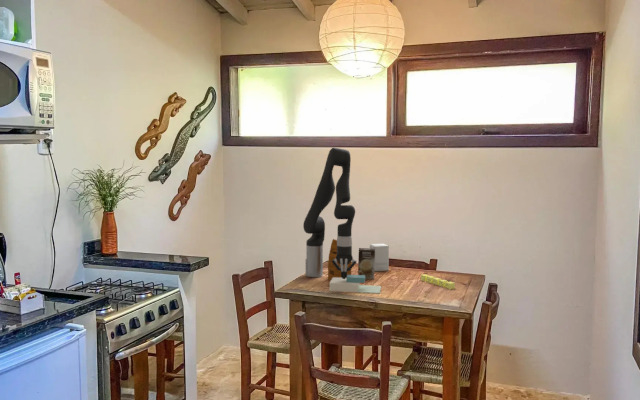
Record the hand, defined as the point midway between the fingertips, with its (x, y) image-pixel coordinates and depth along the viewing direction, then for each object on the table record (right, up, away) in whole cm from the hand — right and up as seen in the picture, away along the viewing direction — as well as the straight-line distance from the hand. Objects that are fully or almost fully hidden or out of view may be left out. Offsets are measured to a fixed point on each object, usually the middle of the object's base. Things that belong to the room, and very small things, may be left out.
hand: (344, 278), depth 264 cm
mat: (+13, -5, -1) cm, 14 cm away
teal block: (+6, -1, -1) cm, 6 cm away
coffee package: (-2, -4, +19) cm, 20 cm away
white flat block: (0, -5, +1) cm, 5 cm away
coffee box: (+13, -4, +25) cm, 28 cm away
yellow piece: (+51, -5, +13) cm, 53 cm away
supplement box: (+23, -2, +47) cm, 52 cm away
